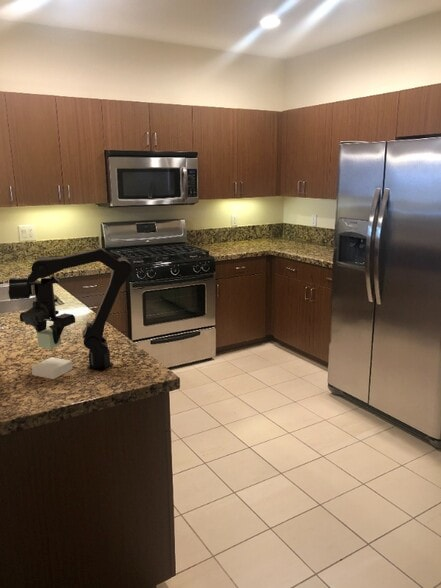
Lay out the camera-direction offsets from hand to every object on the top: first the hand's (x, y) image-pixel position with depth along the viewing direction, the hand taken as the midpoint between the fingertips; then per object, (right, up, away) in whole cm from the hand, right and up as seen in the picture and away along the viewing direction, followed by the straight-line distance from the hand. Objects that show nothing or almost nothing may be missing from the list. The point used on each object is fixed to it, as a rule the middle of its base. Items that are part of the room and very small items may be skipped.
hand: (49, 342), depth 156 cm
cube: (0, -1, 0) cm, 1 cm away
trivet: (0, -10, +3) cm, 10 cm away
